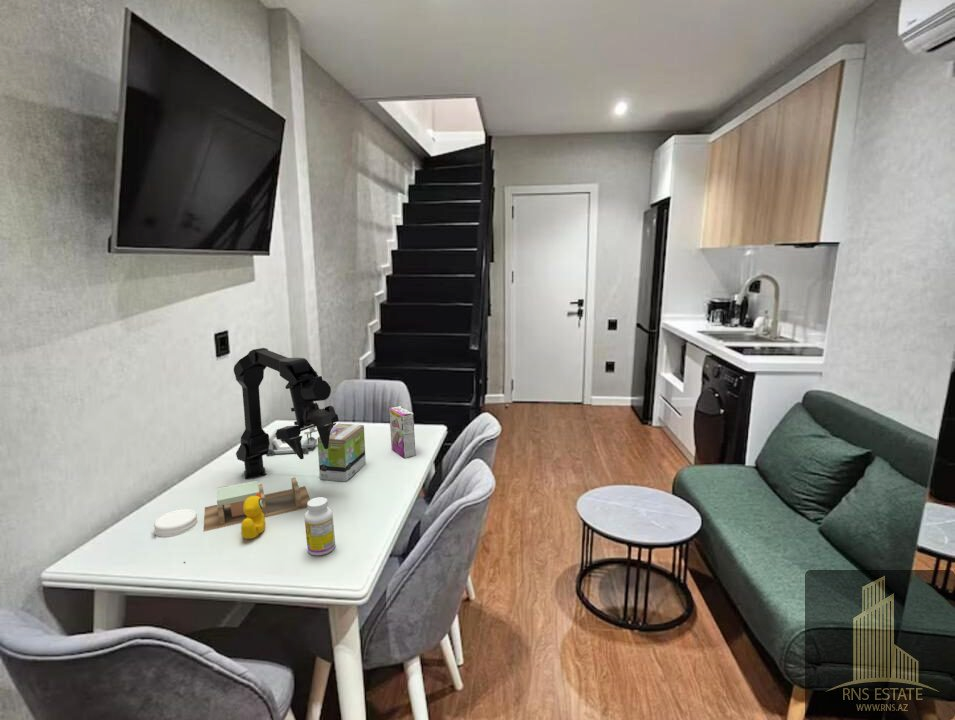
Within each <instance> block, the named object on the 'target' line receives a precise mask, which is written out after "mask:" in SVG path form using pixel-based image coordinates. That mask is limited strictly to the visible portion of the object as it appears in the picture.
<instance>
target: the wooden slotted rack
mask: <svg viewBox="0 0 955 720" xmlns="http://www.w3.org/2000/svg"><path fill="white" fill-rule="evenodd" d="M258 487H259V493H260V494H261V499H262V502H263V508H262V511H261V512H262V513H263V514H264V516H265V518H271V517H273V516H278V515H282V514H287V513H290V512H291V513H292V512H295V511H300V510H304V509H308V506H307V503H308V501H309V500H311V498H310V495H309V493H308V489H307V487H306V486H305V485H304V486H303V485H302V486H299V483H298V481H297V478H296V477H291V488H290V489H286V490H281V491H276V492H272V493H267V494H265V492H264V487H263V484H262V483H260V484H259V483H258ZM203 516H204V517H203V533H205V532H208V531H211V530H217V529H221V528H225V527H230V526H235V525H238V524H242V522H243V520H244V519H246V518H247V516H246V515H245V514H244V515H239V516H235V517H232V513H231V505H230V504H226V505H221V506H217V504H214V505H209V506H205V507H204V515H203Z"/></svg>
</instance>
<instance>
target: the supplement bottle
mask: <svg viewBox="0 0 955 720" xmlns="http://www.w3.org/2000/svg"><path fill="white" fill-rule="evenodd" d="M328 505H329V504H328V499H327V498H326V497H323V496H321V497H314V498H312V499H311V498H310V500H309V501H308V503H307V506H308V508H307V509H308V510H307V511H306V512H305V514H304V525H305V526H304V527H305V536H306V537H305V538H306V546H307V551H308V553H309V554H310V555H313V556H323V555H327V554H329V553H331V552H332V551H333V550H334V549H335V547H336V538H335V537H336V536H335V525H334V515H333V513H334V512H333V510H332V509H331V507H328Z"/></svg>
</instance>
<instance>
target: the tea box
mask: <svg viewBox="0 0 955 720" xmlns="http://www.w3.org/2000/svg"><path fill="white" fill-rule="evenodd" d="M316 439H317V452H318V468H319V471H318V472H319V479H320V480H323V481H332V482H333V481H335V482H347V481H348V480H349V479H351V478H352V477H353V476H354V475H356V473H357V472H358V471H359V470H360V469H361V468H362V467H364V466H365V465H366V463H367V462H366V459H367V458H366V441H365V439H366V438H365V426H364V424H355V423H354V424H352V423H351V424H350V423H336V425H334V426H333V428H332V429H331V432H330V438H329V445H328V449H325V448H324V446H323V444H322V441H321V438H320V436H318V437H317V438H316Z"/></svg>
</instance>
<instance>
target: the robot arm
mask: <svg viewBox="0 0 955 720" xmlns="http://www.w3.org/2000/svg"><path fill="white" fill-rule="evenodd" d="M267 368H269V369H272V370H274V371H277V372H278V374H279V376H280V377H281V378H283V380H285V381H286V382H288V383H286V385H285V389H286V390H288V389H289V392H290V397H291V401H292V407H291V408H290V411H291V412H294V415H295V420H296V421H293V424H294V425H287V426H283V427H281V428H278V429H277V431H276V437H277V440H278V439H281V441H285V442H286V443H287V444H288V445H289V446H290V447H291V448H292V449H293V451H294V452H295V453H294V454H295V455H296V456H297V457H298V458H299V459H300V460H304V456H305V454H303V453H304V452H303V450H302V445H301V441H302V440H303V435H301V433H302V432H303V431H307V430H309V428H312V427H314V426H316V427H317V430H318V431H317V432H318V435H319V436H320V438H321V441H322V444H323V446H324V448H325V449H328V445H329V438H330V432H331V429H332V428H333V427H334V426H336V425H337V422H339V421H340V420H339V416H338V414H337V413H336V411H335V408H334V407H335V406H333V405H328V406H327V405H326V406H325V407H324V408H320V405H319V404H318V402H319V401H320V402H321V401H326V400H328V399H329V397H330V396H331V392H332V389H331V386H330V384H329V383H328V382H327V381H326V380H323V377H322V375H318V372H317V371H316V370H315V369H314V368H313V366H312V365H311V363H310V362H309V361H308V360H307V359H306V358H304V357H287V356H284V355H282V354H279V353H278V352H277V353H276V352H274V351H271V350H269V349H268V348H266V347H260V348H253V349H251V350H250V351H249V352H248V353H247V354H246V355H244V356H243V357H242V358H240V359H239V360H238V361H237V362H236V363H235V364H234V366H233V374H234V376H235V377H234V378H235V381H236V382H237V383H238V384H239V385H240V386H241V389H242V401H243V414H244V415H243V416H244V431H243V433H242V435H241V436H240V445H239V447H238V449H237V450H236V452H235V457H236V459H237V460H238V461H241V462H243V463H244V471H243V475H244V479H247V480H248V479H252V478H253V479H254V478H257V477H262V476H266V475H267V473H266V472H267V471H266V467H264V461H263V458H264V457H263V456H264V455H265V456H266V454H268V453H269V452H268V451H269V445H270V443H269V437H270V435H269V433H267V432H266V431H265V430H264V429H263V426H262V425H263V424H262V414H261V412H262V411H261V402H260V401H261V400H260V399H261V398H260V397H261V396H260V385H261V384H262V381H263V380H264V378H265V377H264V376H265V374H264V373H265V370H266V369H267ZM319 436H318V437H319Z"/></svg>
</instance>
